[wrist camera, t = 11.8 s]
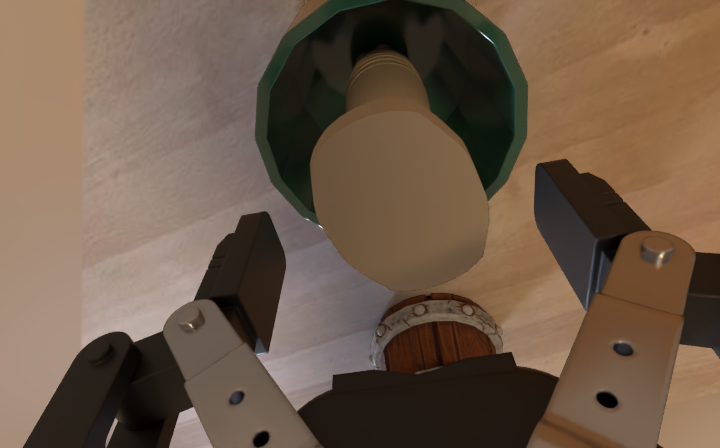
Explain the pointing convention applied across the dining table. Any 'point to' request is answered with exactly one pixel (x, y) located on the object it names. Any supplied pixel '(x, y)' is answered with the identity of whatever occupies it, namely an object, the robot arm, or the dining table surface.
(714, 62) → the dining table surface
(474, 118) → the cup
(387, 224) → the handle
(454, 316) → the mug
